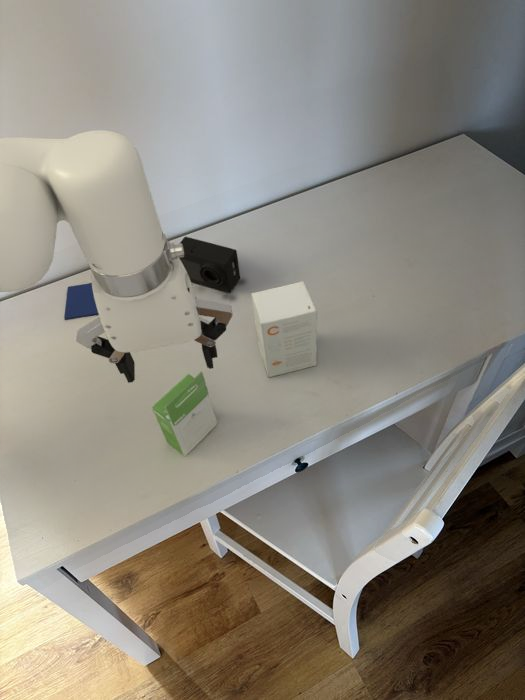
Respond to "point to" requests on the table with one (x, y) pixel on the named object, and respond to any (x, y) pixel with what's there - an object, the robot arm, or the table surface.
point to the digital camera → (210, 264)
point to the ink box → (186, 413)
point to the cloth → (80, 302)
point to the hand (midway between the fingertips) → (170, 366)
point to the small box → (285, 328)
